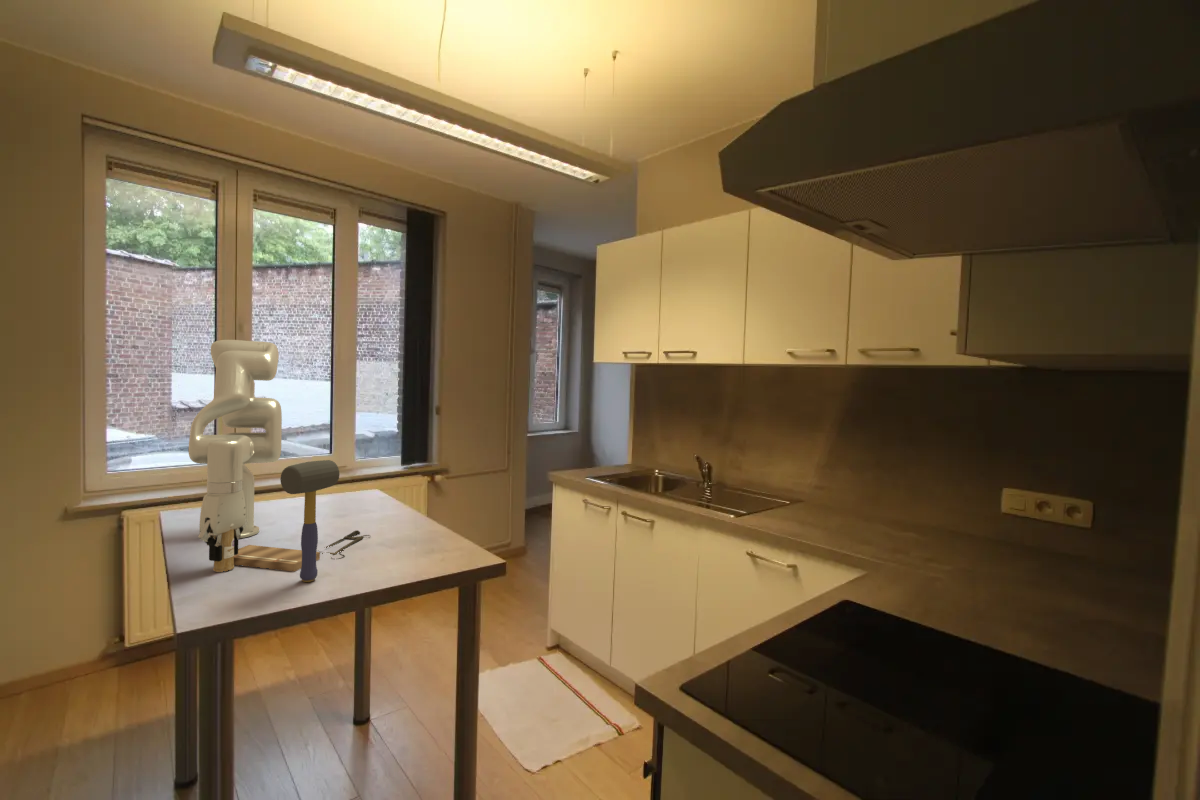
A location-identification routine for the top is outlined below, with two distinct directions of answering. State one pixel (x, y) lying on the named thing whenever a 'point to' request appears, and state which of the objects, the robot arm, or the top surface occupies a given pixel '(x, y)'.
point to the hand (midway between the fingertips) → (223, 556)
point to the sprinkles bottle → (226, 552)
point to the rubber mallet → (309, 504)
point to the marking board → (270, 557)
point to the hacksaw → (347, 544)
